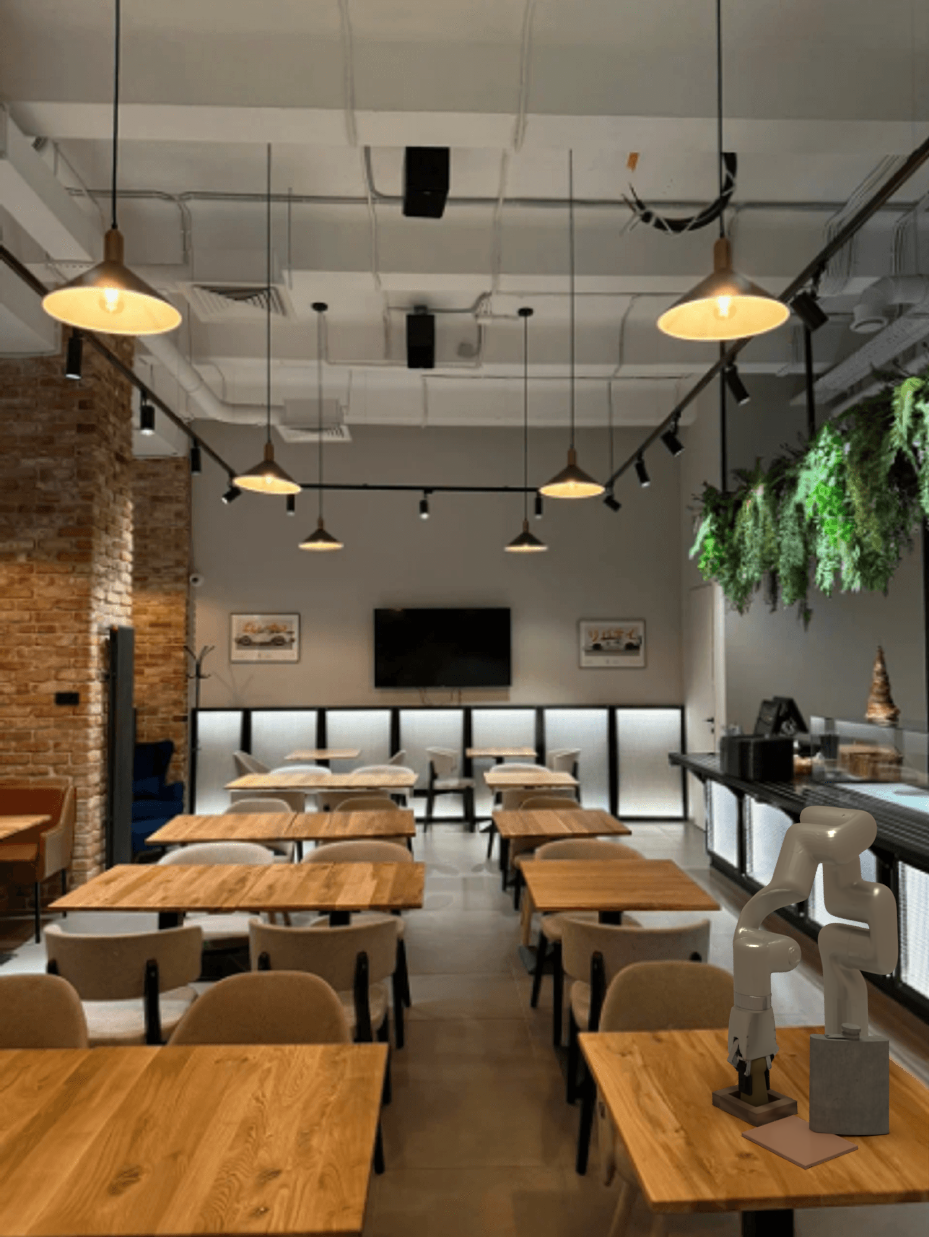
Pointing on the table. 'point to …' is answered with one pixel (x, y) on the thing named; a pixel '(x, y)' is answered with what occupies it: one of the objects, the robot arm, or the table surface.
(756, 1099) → the olive pawn shape
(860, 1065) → the hip flask
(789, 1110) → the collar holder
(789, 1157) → the terracotta tile
